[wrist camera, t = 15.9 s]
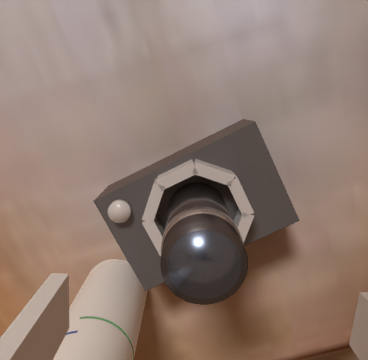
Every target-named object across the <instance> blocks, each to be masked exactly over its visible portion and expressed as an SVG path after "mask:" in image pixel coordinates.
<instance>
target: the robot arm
mask: <svg viewBox="0 0 368 360" xmlns="http://www.w3.org/2000/svg"><path fill="white" fill-rule="evenodd" d="M68 330H69V274H59V273H51V274H50V276H49V277H48V278H47V279H46V281H45V282H44V283H43V284H42V286H41V287H40V288H39V290H38V291H37V292H36V293H35V295H34V296H33V297H32V298H31V300H30V301H29V302H28V303H27V305H26V306H25V307H24V309H23V310H22V311H21V312H20V314H19V315H18V316H17V317H16V319H15V320H14V321H13V322H12V324H11V325H10V326H9V328H8V329H7V330H6V331H5V333H4V334H3V335H2V336H1V338H0V360H53V359H54V357H55V355H56V353H57V351H58V349H59V347H60V345H61V343H62V341H63V339H64V337H65V335H66V333H67V332H68ZM349 345H350V347H351V348H352V350H353V351H354V353H355V354H356V356H357V357H358V359H359V360H368V292H360V293H359V298H358V303H357V308H356V313H355V318H354V323H353V328H352V333H351V338H350V343H349Z"/></svg>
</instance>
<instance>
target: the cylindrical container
mask: <svg viewBox="0 0 368 360" xmlns="http://www.w3.org/2000/svg"><path fill="white" fill-rule="evenodd" d="M146 297H147V290H146V291H145V290H144V288H143V287H142V285H141V283H140V281H139V280H138V278H137V276H136V274H135V273H134V271H133V269H132V267H131V266H130V264H129V262H128V261H125V260H119V259H111V260H106V261H103V262H101V263H99V264H98V265H96V266H95V267H94V268H93V269H92V270H91V271H90V273H89V275H88V277H87V278H86V280H85V282H84V283H83V285H82V287H81V289H80V290H79V292H78V294H77V296H76V297H75V299H74V301H73V302H72V304H71V306H70V308H69V330H68V332H67V333H66V335H65V337H64V339H63V341H62V343H61V345H60V347H59V349H58V351H57V353H56V355H55V357H54V359H53V360H134V356H135V351H136V346H137V341H138V336H139V331H140V326H141V321H142V316H143V311H144V307H145V302H146Z"/></svg>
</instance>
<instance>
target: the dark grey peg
mask: <svg viewBox="0 0 368 360" xmlns="http://www.w3.org/2000/svg"><path fill="white" fill-rule="evenodd" d="M160 268H161V274H162V277H163V280H164V282H165V284H166V285H167V287H168V288H169V289H170V290H171V291H172V292H173V293H174V294H175V295H176V296H178V297H179V298H181V299H183V300H185V301H187V302H190V303H194V304H201V305H202V304H213V303H217V302H220V301H223V300H225V299H227V298H228V297H230V296H231V295H233V294H234V293H235V292H236V291H237V290H238V289H239V288H240V286H241V285H242V283H243V281H244V279H245V277H246V274H247V269H248V258H247V253H246V250H245V248H244V244H243V240H242V237H241V235H240V232H239V230H238V228H237V226H236V224H235V223H234V221H233V220H232V217H231V215H230V213H229V210H228V208H227V206H226V203H225V201H224V199H223V197H222V195H221V194H220V192H219V191H218V190H217V189H216V188H214V187H213V186H211V185H209V184H206V183H200V182H195V183H189V184H186V185H184V186H182V187H181V188H180V189H178V190H177V191H176V192H175V194H174V195H173V196H172V198H171V201H170V204H169V210H168V216H167V222H166V229H165V231H164V234H163V238H162V244H161V261H160Z"/></svg>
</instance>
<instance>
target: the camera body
mask: <svg viewBox="0 0 368 360" xmlns="http://www.w3.org/2000/svg"><path fill="white" fill-rule="evenodd" d="M195 182H200V183H206V184H209V185H211V186H213V187H214V188H216V189H217V190H218V191H219V192H220V194H221V195H222V197H223V199H224V201H225V203H226V206H227V208H228V210H229V213H230V215H231V217H232V220H233V221H234V223H235V224H236V226H237V228H238V230H239V232H240V235H241V237H242V240H243V244H244V246H245V245H247V244H249V243H251V242H254V241H256V240H258V239H260V238H262V237H265V236H267V235H269V234H271V233H273V232H276V231H278V230H280V229H282V228H284V227H287V226H289V225H291V224H293V223H295V222H298V221H299V219H298V216H297V214H296V212H295V210H294V207H293V205H292V203H291V201H290V199H289V196H288V194H287V192H286V190H285V187H284V185H283V183H282V181H281V178H280V176H279V174H278V172H277V169H276V167H275V165H274V163H273V160H272V158H271V156H270V154H269V151H268V149H267V147H266V145H265V142H264V140H263V138H262V136H261V133H260V131H259V129H258V127H257V125H256V122H255V121H250V120H245V119H243V120H241V121H239V122H237V123H235V124H233V125H231V126H229V127H227V128H225V129H223V130H221V131H219V132H217V133H215V134H213V135H210V136H208V137H206V138H204V139H202V140H200V141H198V142H196V143H194V144H192V145H190V146H188V147H186V148H184V149H182V150H180V151H178V152H176V153H174V154H172V155H170V156H168V157H166V158H164V159H162V160H160V161H158V162H156V163H154V164H152V165H150V166H148V167H146V168H144V169H142V170H140V171H138V172H136V173H134V174H132V175H130V176H128V177H126V178H124V179H122V180H119V181H117V182H115V183H113V184H111V185H109V186H108V187H107V188H106V189H105V190H104V191H103V192H102V193H101V194H100V195H99V196H98V197H97V198H96V199H95V200H94V203H95V204H96V206H97V208H98V210H99V211H100V213H101V215H102V217H103V218H104V220H105V222H106V224H107V225H108V227H109V229H110V231H111V232H112V234H113V236H114V238H115V239H116V241H117V243H118V245H119V246H120V248H121V250H122V252H123V253H124V255H125V257H126V259H127V260H128V262H129V264H130V266H131V267H132V269H133V271H134V273H135V274H136V276H137V278H138V280H139V281H140V283H141V285H142V287H143V288H144V290H145V291H146V290H148V289H150V288H153V287H155V286H157V285H159V284H161V283H164V280H163V277H162V274H161V268H160V261H161V244H162V238H163V234H164V231H165V229H166V222H167V216H168V210H169V204H170V201H171V198H172V196H173V195H174V194H175V192H176V191H177V190H178V189H180V188H181V187H182V186H184V185H186V184H189V183H195Z"/></svg>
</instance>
